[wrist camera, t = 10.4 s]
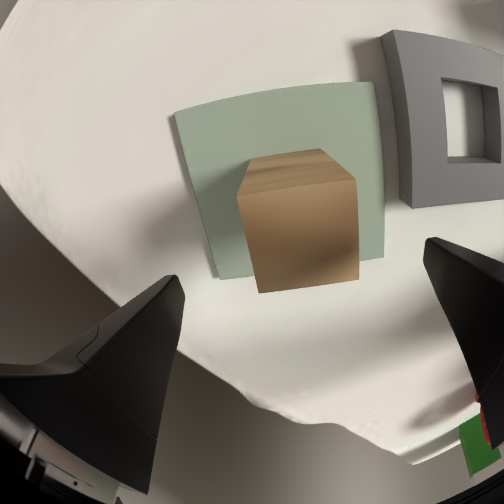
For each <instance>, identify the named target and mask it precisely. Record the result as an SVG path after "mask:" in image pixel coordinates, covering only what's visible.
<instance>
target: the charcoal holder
mask: <svg viewBox="0 0 504 504" xmlns="http://www.w3.org/2000/svg"><path fill="white" fill-rule="evenodd" d="M380 37H381V41H382V45H383V49H384V54H385V58H386V63H387V68H388V74H389V79H390V85H391V91H392V98H393V105H394V113H395V122H396V132H397V143H398V159H399V191H400V199H401V200H402V201H404V202H405V203H406V204H407V205H408V206H410V207H411V208H412V209H414V208H423V207H432V206H441V205H450V204H460V203H470V202H480V201H491V200H502V199H504V55H501V54H499V53H496V52H493V51H490V50H487V49H484V48H481V47H478V46H475V45H471V44H468V43H464V42H460V41H456V40H452V39H448V38H443V37H438V36H433V35H428V34H422V33H416V32H409V31H401V30H391V31H389V32H388V33H386V34H384V35H382V36H380ZM441 80H446V81H453V82H459V83H465V84H471V85H476V86H481V92H482V101H483V112H484V128H485V157H448V156H447V129H446V116H445V106H444V97H443V90H442V83H441Z"/></svg>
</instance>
